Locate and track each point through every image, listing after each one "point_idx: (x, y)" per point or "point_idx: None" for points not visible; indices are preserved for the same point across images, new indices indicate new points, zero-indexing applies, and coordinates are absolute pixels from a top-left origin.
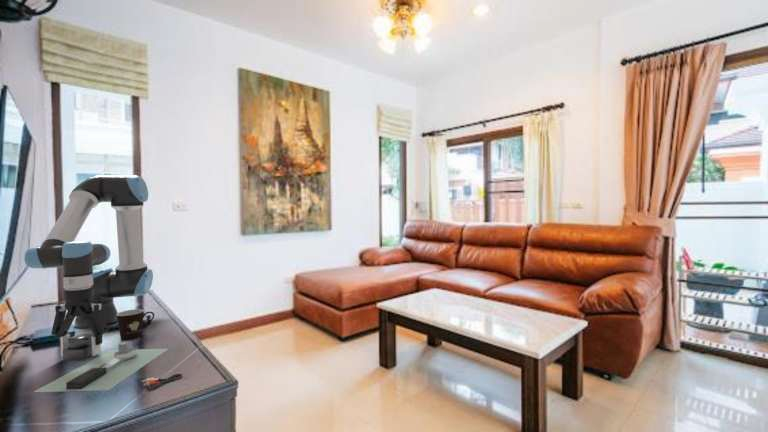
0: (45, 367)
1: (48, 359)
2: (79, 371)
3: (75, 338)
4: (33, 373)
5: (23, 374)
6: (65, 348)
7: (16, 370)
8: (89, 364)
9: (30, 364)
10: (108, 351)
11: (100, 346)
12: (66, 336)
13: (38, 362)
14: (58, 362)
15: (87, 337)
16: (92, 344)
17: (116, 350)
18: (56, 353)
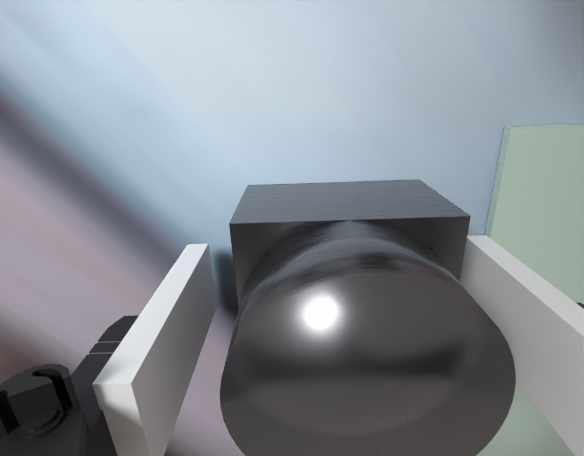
0: (215, 386)
1: (88, 278)
2: (499, 453)
3: (333, 441)
4: (226, 444)
5: (181, 451)
6: (198, 324)
7: None
8: None
9: (56, 347)
10: (508, 163)
11: (521, 263)
12: (151, 419)
13: (74, 322)
14: (226, 325)
15: (486, 420)
16: (520, 374)
17: (576, 139)
18: (7, 162)
